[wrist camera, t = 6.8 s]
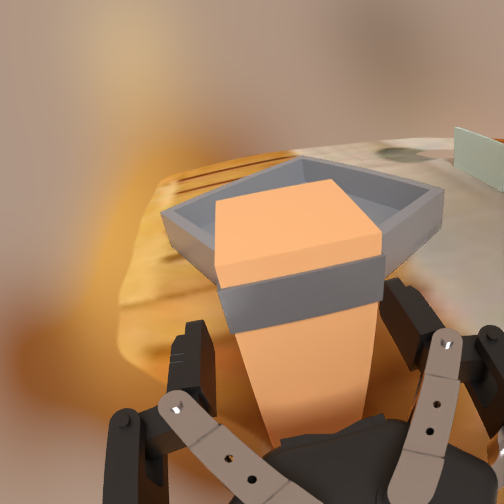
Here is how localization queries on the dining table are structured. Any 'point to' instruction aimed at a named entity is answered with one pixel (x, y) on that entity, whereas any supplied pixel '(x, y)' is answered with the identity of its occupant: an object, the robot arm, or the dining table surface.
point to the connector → (301, 302)
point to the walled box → (306, 171)
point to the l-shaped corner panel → (479, 157)
